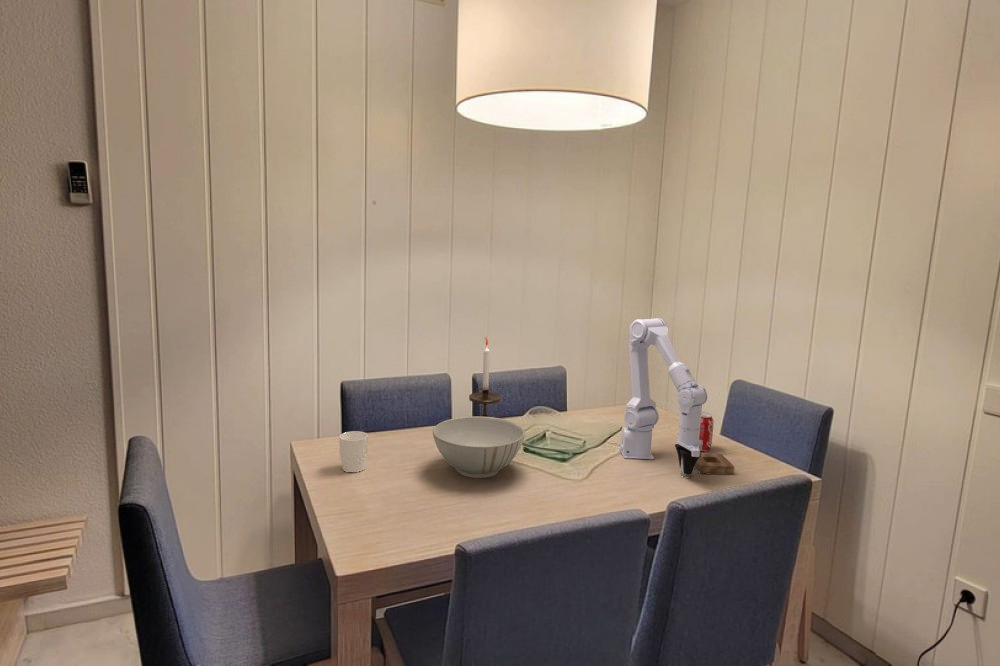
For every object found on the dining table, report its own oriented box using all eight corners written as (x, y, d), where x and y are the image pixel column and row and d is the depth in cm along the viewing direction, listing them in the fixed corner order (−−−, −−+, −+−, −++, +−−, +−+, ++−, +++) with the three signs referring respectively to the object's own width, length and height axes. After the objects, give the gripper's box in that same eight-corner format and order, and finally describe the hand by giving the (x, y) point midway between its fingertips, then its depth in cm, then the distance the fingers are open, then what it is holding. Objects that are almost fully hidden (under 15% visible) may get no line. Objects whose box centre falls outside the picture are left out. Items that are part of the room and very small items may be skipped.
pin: (681, 477, 171) (683, 458, 170) (678, 473, 174) (680, 454, 173) (692, 478, 171) (693, 458, 170) (688, 474, 174) (690, 454, 173)
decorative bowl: (514, 494, 156) (516, 451, 154) (419, 483, 162) (419, 441, 160) (530, 457, 182) (531, 420, 180) (447, 449, 188) (447, 412, 186)
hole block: (700, 473, 174) (700, 465, 174) (689, 460, 184) (690, 453, 184) (733, 474, 174) (734, 466, 174) (721, 461, 184) (721, 454, 184)
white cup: (333, 470, 168) (333, 437, 167) (352, 461, 175) (352, 429, 173) (355, 476, 165) (354, 442, 163) (373, 467, 172) (373, 434, 170)
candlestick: (464, 433, 203) (467, 333, 197) (494, 431, 206) (497, 333, 201) (472, 444, 193) (475, 339, 187) (504, 441, 196) (507, 338, 190)
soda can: (708, 445, 198) (711, 411, 196) (713, 453, 191) (716, 418, 189) (686, 444, 199) (689, 410, 197) (691, 452, 192) (694, 416, 190)
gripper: (712, 435, 163) (707, 481, 165) (695, 419, 177) (691, 462, 179) (686, 435, 163) (682, 481, 165) (671, 418, 177) (668, 461, 179)
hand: (685, 471), depth 172 cm, fingers closed on pin, 3 cm apart
